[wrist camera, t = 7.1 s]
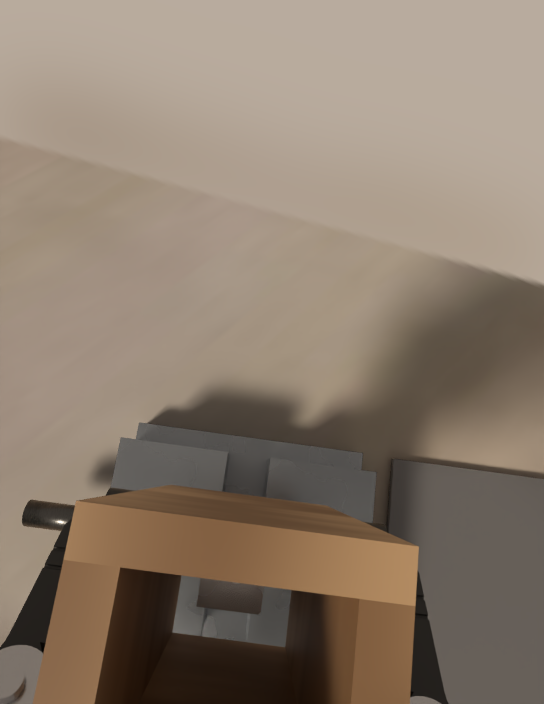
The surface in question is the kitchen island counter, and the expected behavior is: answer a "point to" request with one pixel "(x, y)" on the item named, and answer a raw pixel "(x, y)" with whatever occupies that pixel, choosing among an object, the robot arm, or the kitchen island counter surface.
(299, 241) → the kitchen island counter surface
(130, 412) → the kitchen island counter surface
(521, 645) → the mat
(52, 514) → the vise
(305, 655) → the sleeve
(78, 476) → the kitchen island counter surface
